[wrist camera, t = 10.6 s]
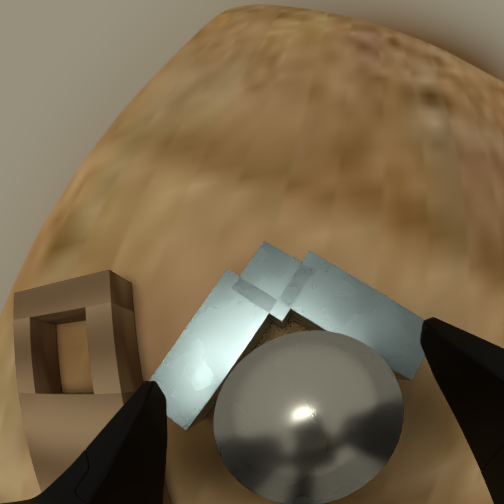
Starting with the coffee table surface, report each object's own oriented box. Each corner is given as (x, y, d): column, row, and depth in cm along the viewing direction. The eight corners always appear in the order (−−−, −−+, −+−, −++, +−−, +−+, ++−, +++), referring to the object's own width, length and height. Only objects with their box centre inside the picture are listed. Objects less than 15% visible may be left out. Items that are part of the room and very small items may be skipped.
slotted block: (182, 539, 13) (168, 559, 10) (79, 523, 13) (58, 534, 11) (131, 282, 20) (109, 269, 17) (39, 302, 20) (14, 293, 17)
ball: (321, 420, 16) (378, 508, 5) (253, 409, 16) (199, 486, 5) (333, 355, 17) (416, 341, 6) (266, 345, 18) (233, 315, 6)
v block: (420, 367, 16) (446, 366, 13) (171, 422, 16) (147, 432, 13) (383, 236, 19) (399, 211, 16) (151, 287, 20) (126, 271, 16)
